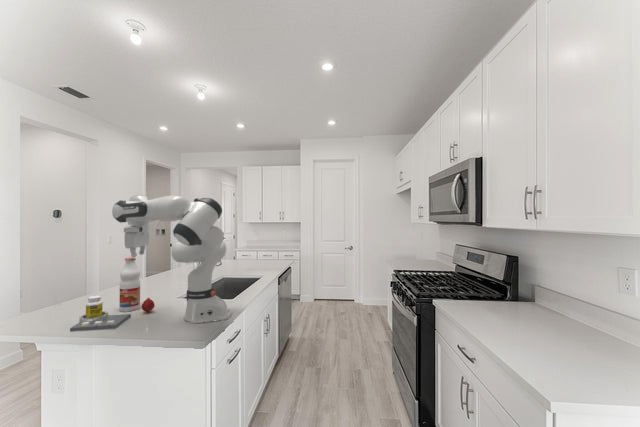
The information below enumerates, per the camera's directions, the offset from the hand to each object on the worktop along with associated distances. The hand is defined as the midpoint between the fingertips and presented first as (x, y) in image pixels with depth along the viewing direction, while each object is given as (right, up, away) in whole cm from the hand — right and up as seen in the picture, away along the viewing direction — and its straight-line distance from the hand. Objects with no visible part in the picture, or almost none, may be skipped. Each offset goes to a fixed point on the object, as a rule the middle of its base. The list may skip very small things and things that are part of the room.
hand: (137, 255), depth 143 cm
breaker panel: (-12, -31, -8) cm, 34 cm away
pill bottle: (-16, -30, -7) cm, 35 cm away
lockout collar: (-16, -29, -7) cm, 34 cm away
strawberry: (0, -31, +8) cm, 32 cm away
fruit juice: (-13, -31, +14) cm, 37 cm away
